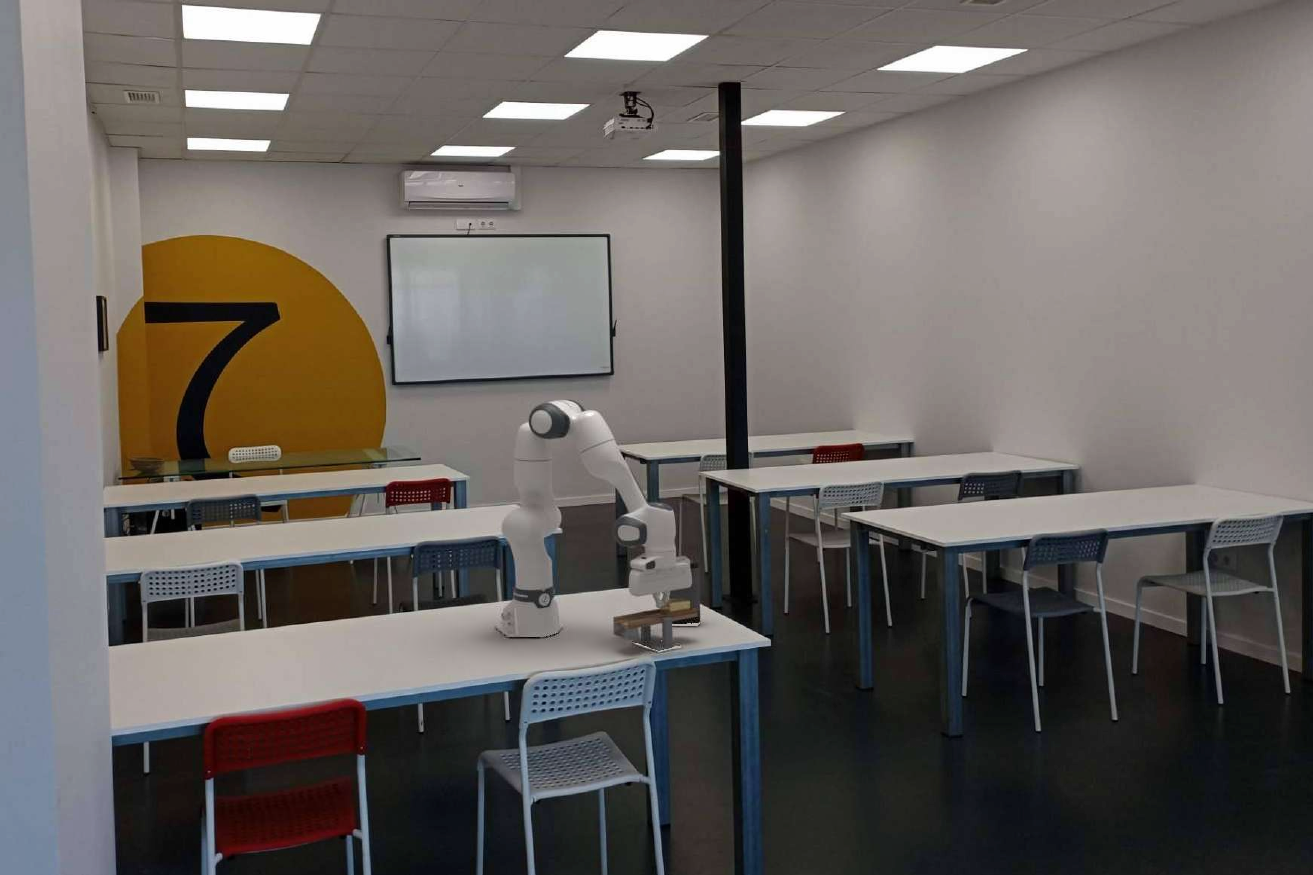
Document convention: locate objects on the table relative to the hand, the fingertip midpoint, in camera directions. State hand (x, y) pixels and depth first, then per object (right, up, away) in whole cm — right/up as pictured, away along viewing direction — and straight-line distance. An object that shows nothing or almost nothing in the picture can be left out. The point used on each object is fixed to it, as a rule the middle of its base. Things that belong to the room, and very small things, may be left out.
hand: (661, 607), depth 323 cm
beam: (-1, -7, -1) cm, 7 cm away
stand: (-1, -11, 0) cm, 11 cm away
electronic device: (+7, -9, +23) cm, 26 cm away
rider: (+4, -2, +3) cm, 5 cm away
